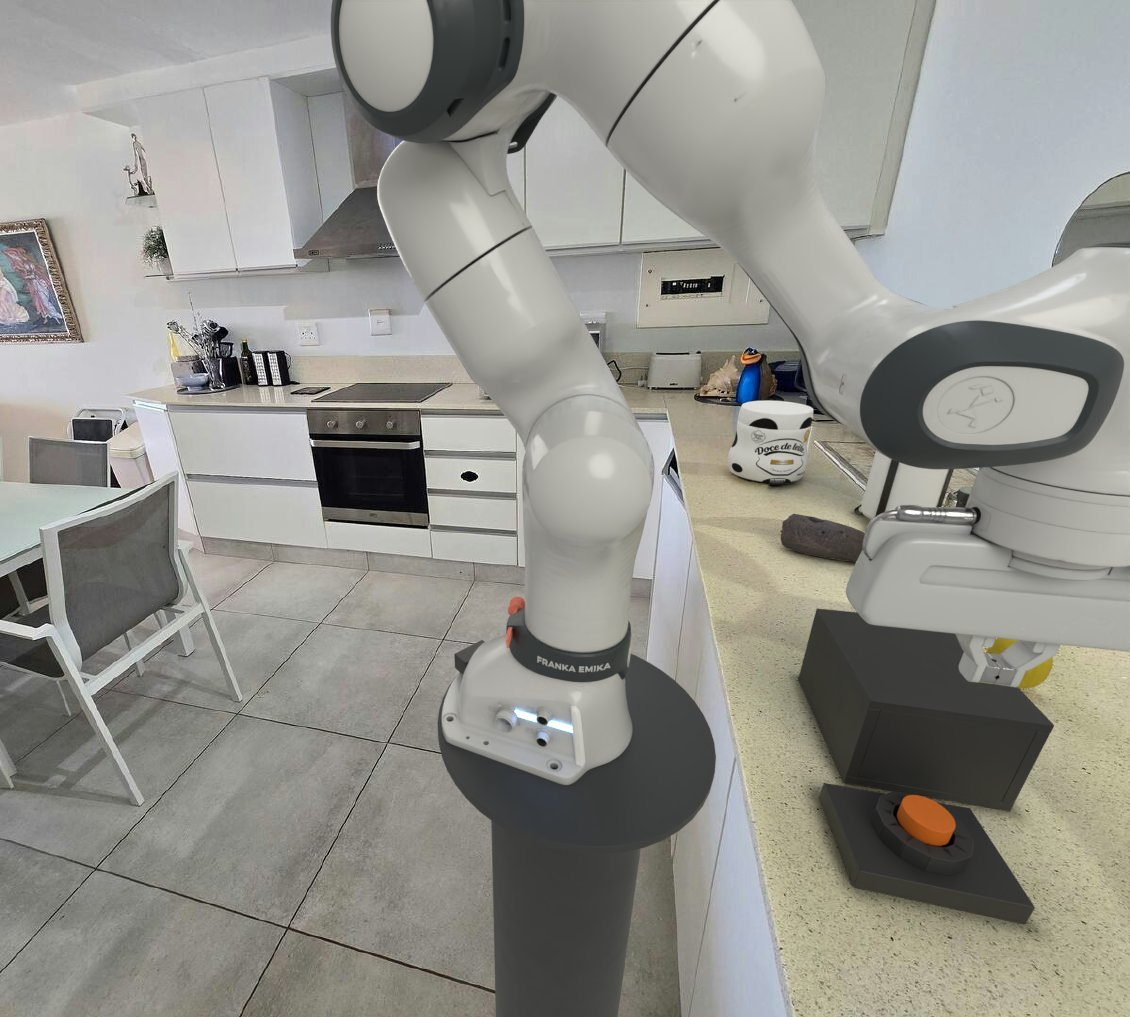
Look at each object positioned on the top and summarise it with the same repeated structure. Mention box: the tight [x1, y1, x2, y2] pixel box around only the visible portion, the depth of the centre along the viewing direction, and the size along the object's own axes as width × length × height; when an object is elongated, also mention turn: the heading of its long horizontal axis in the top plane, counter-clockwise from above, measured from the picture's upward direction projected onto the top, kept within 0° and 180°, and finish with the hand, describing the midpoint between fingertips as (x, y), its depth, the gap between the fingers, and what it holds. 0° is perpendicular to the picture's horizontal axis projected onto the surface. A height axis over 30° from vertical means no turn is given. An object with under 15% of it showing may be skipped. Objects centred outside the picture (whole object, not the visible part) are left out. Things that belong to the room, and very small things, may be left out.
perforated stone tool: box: [779, 513, 865, 563], centre depth 98 cm, size 15×5×7 cm, turn 54°
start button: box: [897, 795, 956, 846], centre depth 47 cm, size 4×4×2 cm
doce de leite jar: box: [727, 400, 814, 486], centre depth 133 cm, size 17×17×18 cm
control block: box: [818, 782, 1036, 925], centre depth 48 cm, size 12×9×4 cm
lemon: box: [985, 638, 1054, 690], centre depth 66 cm, size 6×6×8 cm
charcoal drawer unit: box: [797, 607, 1055, 812], centre depth 59 cm, size 16×14×11 cm
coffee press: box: [853, 450, 955, 520], centre depth 105 cm, size 17×16×30 cm
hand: (986, 679), depth 41 cm, fingers closed
